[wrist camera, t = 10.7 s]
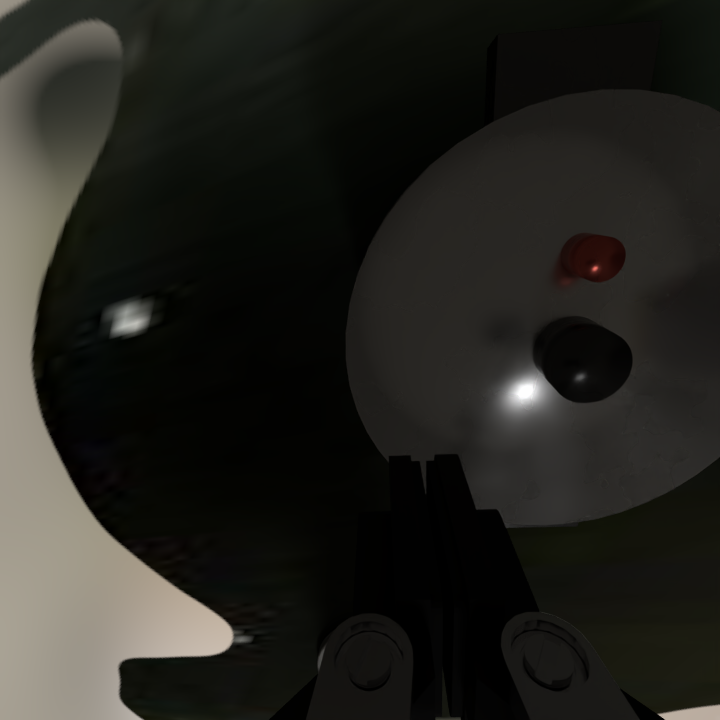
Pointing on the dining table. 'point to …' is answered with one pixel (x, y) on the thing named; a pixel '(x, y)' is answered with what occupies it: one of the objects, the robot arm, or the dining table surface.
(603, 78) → the cooker pot
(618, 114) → the cooker lid
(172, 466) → the dining table surface
